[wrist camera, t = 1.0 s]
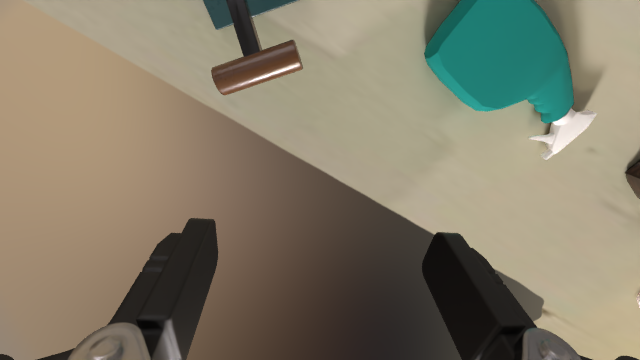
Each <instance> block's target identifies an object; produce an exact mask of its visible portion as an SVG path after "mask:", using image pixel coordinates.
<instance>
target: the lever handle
mask: <svg viewBox="0 0 640 360" xmlns="http://www.w3.org/2000/svg"><path fill="white" fill-rule="evenodd" d="M226 2H227V5H228V8H229V12H230V15H231V18H232V21H233V24H234V27H235V31H236V34H237V37H238V40H239V43H240V46H241V49H242V53H243V56H244V57H241V58H238V59H236V60H233V61H230V62H227V63H224V64H221V65H218V66H215V67H213V68H212V70H211V73H212V78H213V81H214V83H215V85H216V87H217V89H218V90H219V91H220V93H221V94H223V95H228V94H231V93H234V92H237V91H240V90H243V89H246V88H249V87H252V86H254V85H257V84H260V83H263V82H266V81H269V80H272V79H275V78H278V77H281V76H284V75H287V74H290V73H293V72H296V71H299V70H302V69H303V66H302V62H301V59H300V56H299V52H298V49H297V46H296V43H295V41H294V40H290V41H287V42H284V43H282V44H279V45H276V46H273V47H270V48H267V49H264V50H262V48H261V44H260V41H259V38H258V35H257V31H256V28H255V25H254V22H253V18H252V15H251V12H250V9H249V5H248V2H247V0H226Z"/></svg>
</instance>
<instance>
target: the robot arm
mask: <svg viewBox="0 0 640 360" xmlns="http://www.w3.org/2000/svg"><path fill="white" fill-rule="evenodd" d="M217 260H218V246H217V236H216V225H215V221H214V220H213V219H198V218H196V219H195V218H191V219H189V220H188V222H187V224H186V226H185V228H184V230H183V232H182V233H171V234H169V235H168V236H167V237H166V238H165V239H163V240H162V241H161V242H160V243H159V244H157V246H156V248H155V249H154V251H153V253H152V254H151V256H150V259H149V260H148V261H147V262H146V264H145V266H144V267H143V270H142V272H140V274H139V276H138V277H137V279H136V280H135V282H134V284H133V285H132V287H131V289H130V291H129V292H128V293H127V295H126V297H125V298H124V300H123V302H122V303H121V305H120V307H119V308H118V310H117V311H116V313H115V315H114V316H113V318H112V319H111V321H110V322H109V323H108V325H107V326H105V327H102V328H100V329H98V330H97V331H95V332H93V333H92V334H90V335H89V336H87V337H86V338H85V339H84V340H83V341H81V342H80V343H79V344H78V345H77V347H76V348H74V349H71V350H69V351H65V352H62V353H59V354H55V355H51V356H48V357H45V358H41V359H38V360H186V358H187V355H188V352H189V349H190V346H191V342H192V340H193V337H194V334H195V331H196V328H197V325H198V322H199V319H200V316H201V312H202V309H203V306H204V303H205V300H206V297H207V294H208V291H209V288H210V285H211V282H212V279H213V275H214V273H215V269H216V266H217ZM422 272H423V276H424V279H425V280H426V283H427V285H428V287H429V289H430V292H431V294H432V296H433V298H434V300H435V302H436V305H437V307H438V309H439V311H440V313H441V315H442V318H443V320H444V322H445V324H446V326H447V328H448V331H449V332H450V335H451V337H452V339H453V341H454V343H455V346H456V348H457V350H458V352H459V354H460V356H461V359H462V360H592V359H589V358H586V357H583V356H580V355H578V354H577V353H576V351H575V350H574V349H573V348H572V347H571V346H570V345H569V344H568V343H566V342H565V341H564V340H563V339H561V338H560V337H558V336H557V335H555V334H553V333H552V332H549V331H547V330H544V329H541V328H537V326H536V325H535V324H534V323H533V321H532V320H531V319H530V317H529V316H528V315H527V313H526V312H525V311H524V310H523V308H522V307H521V305H520V304H519V303H518V301H517V300H516V299H515V297H514V296H513V294H512V293H511V292H510V291H509V289H508V288H507V287H506V285H504V284H503V281H502V280H501V278H500V277H499V276H498V274H495V270H494V269H493V268H492V266H491V265H490V264H489V262H488V261H487V260H486V259H485V258H484V257H483V256H482V255H481V254H479V253H478V252H477V251H476V250H475V249H473V248H470V247H469V245H468V244H467V242H466V241H465V240H464V238H463V237H462V236H461V235H460V234H458V233H444V232H438V233H436V234H435V235H434V237H433V239H432V242H431V244H430V246H429V248H428V251H427V253H426V255H425V257H424V260H423V263H422ZM0 360H14V359H13V358H12V357H10V356H7V355H4V354H0ZM615 360H639V359H636V358H633V357H630V356H620V357H618V358H617V359H615Z"/></svg>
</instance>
